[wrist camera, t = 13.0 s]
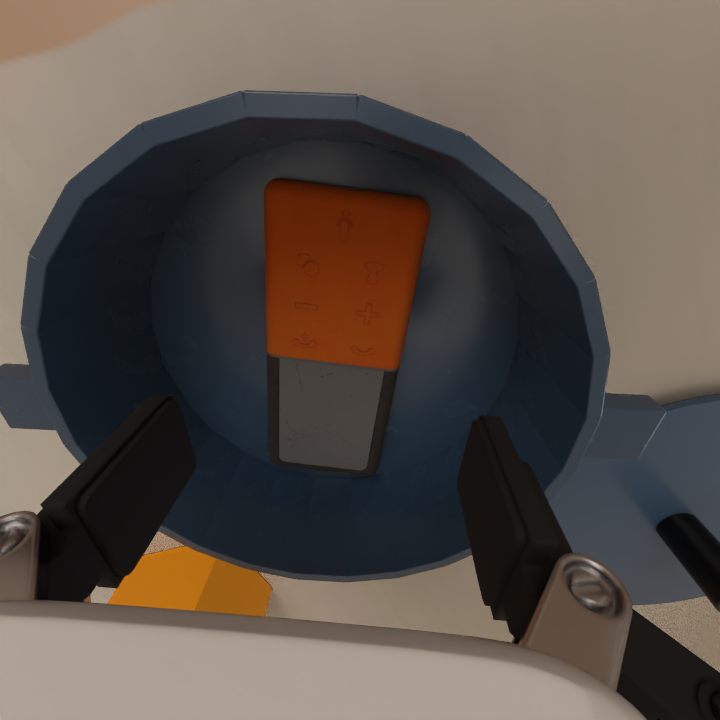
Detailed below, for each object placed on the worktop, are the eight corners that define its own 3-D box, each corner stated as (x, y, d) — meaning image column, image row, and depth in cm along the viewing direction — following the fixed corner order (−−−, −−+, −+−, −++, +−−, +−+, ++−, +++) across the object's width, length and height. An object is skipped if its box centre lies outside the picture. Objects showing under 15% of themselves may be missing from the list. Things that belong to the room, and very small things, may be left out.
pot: (19, 116, 13) (-254, 73, 7) (657, 138, 13) (889, 111, 7) (152, 466, 22) (76, 566, 17) (521, 486, 22) (572, 596, 16)
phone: (437, 200, 12) (377, 482, 20) (432, 198, 13) (377, 465, 21) (258, 176, 12) (265, 469, 19) (268, 175, 13) (272, 452, 21)
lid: (561, 375, 18) (631, 453, 13) (951, 394, 17) (1176, 481, 12) (481, 582, 28) (504, 671, 23) (730, 597, 27) (807, 690, 22)
